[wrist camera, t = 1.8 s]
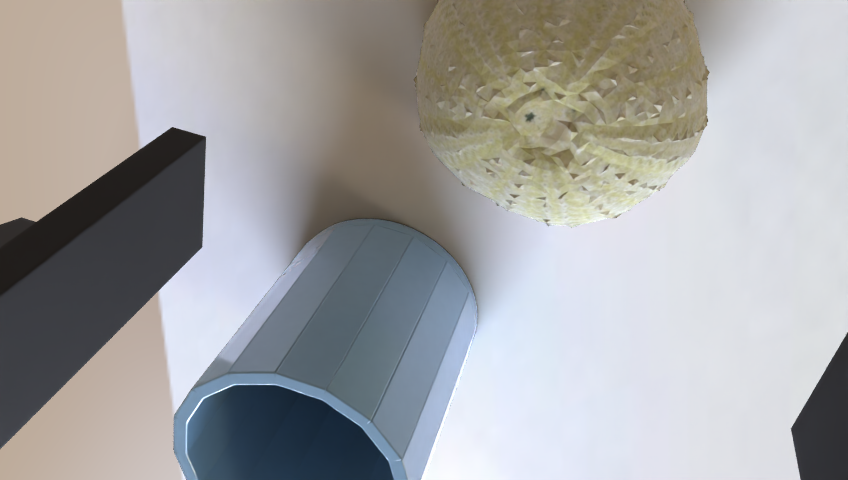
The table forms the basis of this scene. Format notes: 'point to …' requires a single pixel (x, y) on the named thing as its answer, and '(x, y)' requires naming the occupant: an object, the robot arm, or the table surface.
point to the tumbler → (337, 365)
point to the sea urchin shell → (562, 101)
